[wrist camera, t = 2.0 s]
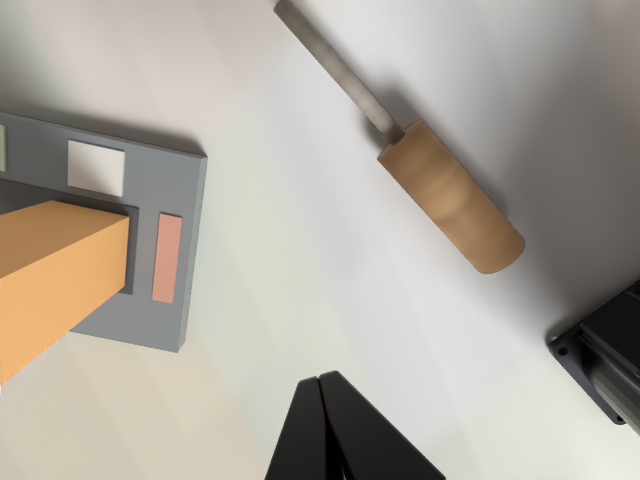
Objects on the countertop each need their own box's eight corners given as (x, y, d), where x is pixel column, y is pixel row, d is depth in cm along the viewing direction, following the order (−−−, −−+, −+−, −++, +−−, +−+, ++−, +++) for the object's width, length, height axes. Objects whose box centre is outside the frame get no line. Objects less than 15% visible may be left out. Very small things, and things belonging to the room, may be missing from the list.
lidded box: (132, 214, 18) (-24, 288, 10) (127, 289, 19) (-17, 409, 11) (48, 196, 17) (-176, 257, 10) (48, 273, 19) (-154, 383, 11)
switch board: (207, 157, 18) (199, 159, 17) (184, 342, 21) (176, 354, 20) (-100, 89, 18) (-129, 87, 16) (-80, 288, 20) (-103, 298, 19)
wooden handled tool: (510, 229, 19) (534, 245, 16) (469, 262, 19) (488, 281, 17) (304, -12, 16) (299, -34, 14) (263, 34, 16) (252, 21, 14)
